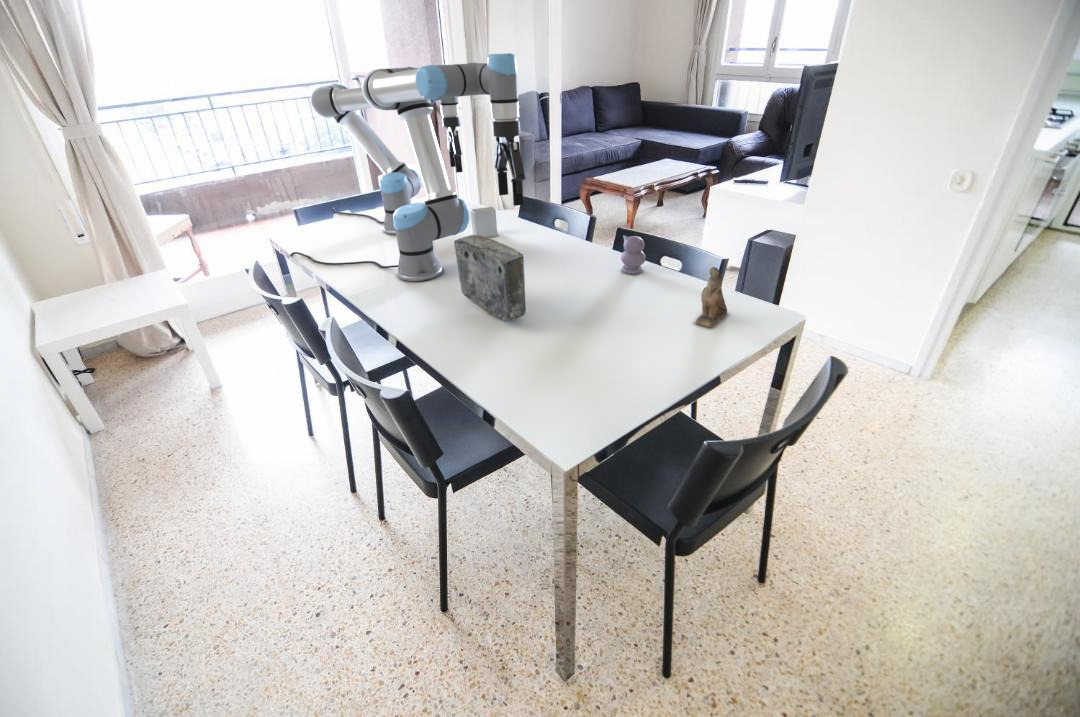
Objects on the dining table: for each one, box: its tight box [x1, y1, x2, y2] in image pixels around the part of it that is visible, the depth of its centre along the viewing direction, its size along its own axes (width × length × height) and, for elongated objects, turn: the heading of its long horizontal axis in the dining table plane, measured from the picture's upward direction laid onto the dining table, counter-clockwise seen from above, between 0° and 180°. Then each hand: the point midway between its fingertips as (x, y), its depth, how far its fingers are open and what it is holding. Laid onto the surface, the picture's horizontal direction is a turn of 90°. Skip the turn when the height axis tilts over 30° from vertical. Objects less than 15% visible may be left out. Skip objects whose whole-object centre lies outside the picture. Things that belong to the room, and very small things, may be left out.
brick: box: [470, 206, 498, 238], centre depth 208 cm, size 9×6×11 cm, turn 111°
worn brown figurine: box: [695, 266, 728, 328], centre depth 135 cm, size 12×6×18 cm, turn 136°
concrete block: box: [453, 234, 527, 322], centre depth 143 cm, size 27×9×20 cm, turn 36°
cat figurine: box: [620, 234, 646, 275], centre depth 168 cm, size 9×8×12 cm
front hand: (510, 199), depth 146 cm, fingers open, 13 cm apart
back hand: (456, 169), depth 219 cm, fingers open, 13 cm apart
